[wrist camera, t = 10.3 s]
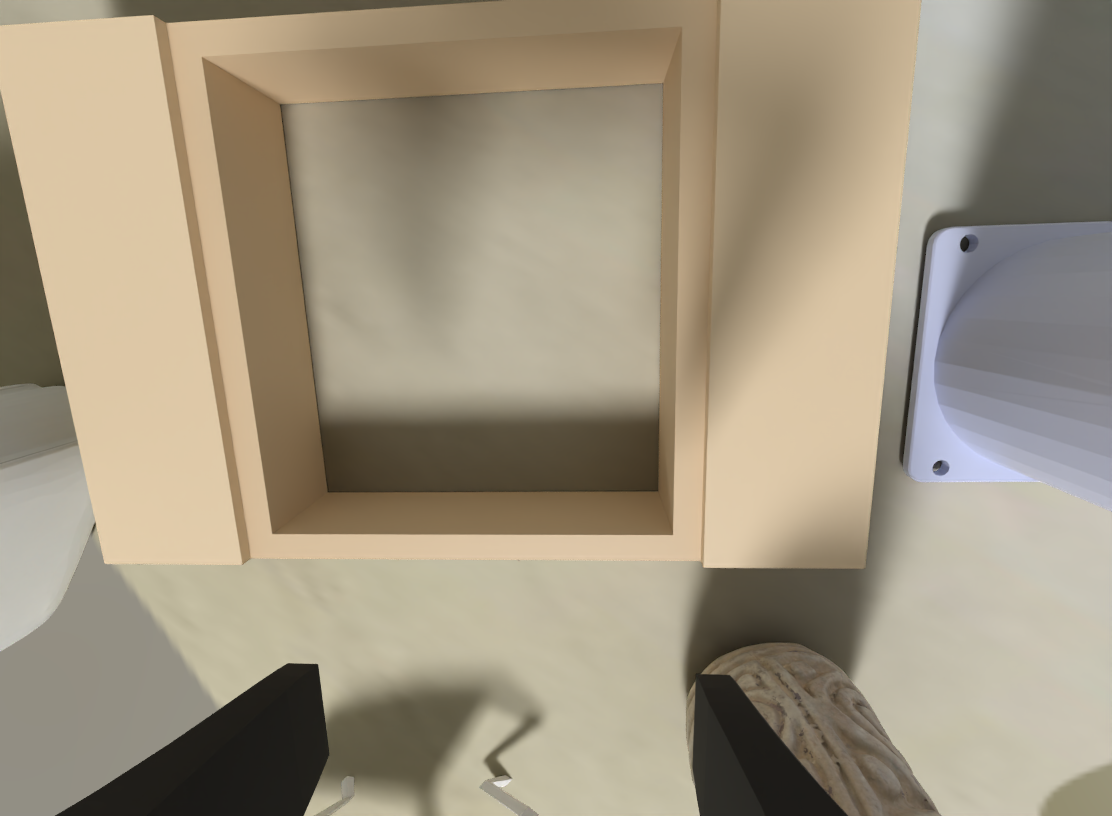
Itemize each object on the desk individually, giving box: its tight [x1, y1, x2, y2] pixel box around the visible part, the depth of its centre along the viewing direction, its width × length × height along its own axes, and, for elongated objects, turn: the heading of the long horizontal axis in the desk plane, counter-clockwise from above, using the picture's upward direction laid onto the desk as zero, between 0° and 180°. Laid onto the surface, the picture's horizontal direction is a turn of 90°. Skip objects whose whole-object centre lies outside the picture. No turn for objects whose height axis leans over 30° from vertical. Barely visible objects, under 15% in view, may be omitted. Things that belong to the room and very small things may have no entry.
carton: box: [0, 0, 921, 569], centre depth 16 cm, size 22×15×4 cm, turn 91°
